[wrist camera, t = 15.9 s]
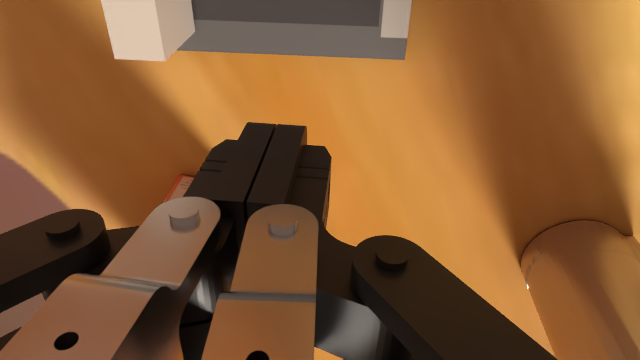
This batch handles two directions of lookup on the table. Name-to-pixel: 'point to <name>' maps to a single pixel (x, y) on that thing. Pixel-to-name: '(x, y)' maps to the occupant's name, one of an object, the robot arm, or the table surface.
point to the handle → (148, 27)
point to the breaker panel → (302, 27)
